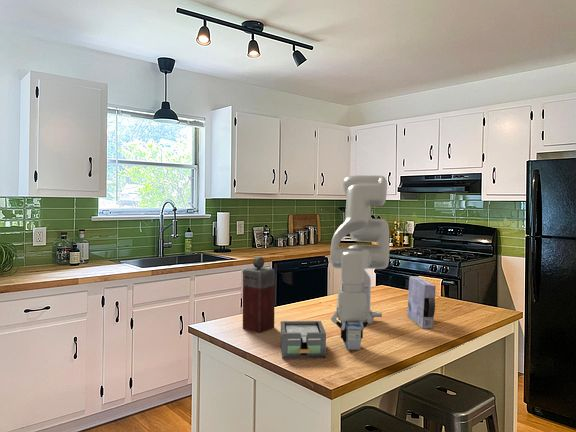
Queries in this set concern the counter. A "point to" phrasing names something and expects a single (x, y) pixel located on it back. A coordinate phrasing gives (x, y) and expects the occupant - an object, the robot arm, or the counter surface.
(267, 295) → the red square decanter
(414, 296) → the cake pan box
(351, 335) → the medicine box
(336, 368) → the counter surface
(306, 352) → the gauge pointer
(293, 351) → the grey hollow square box
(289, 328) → the light grey flat panel
